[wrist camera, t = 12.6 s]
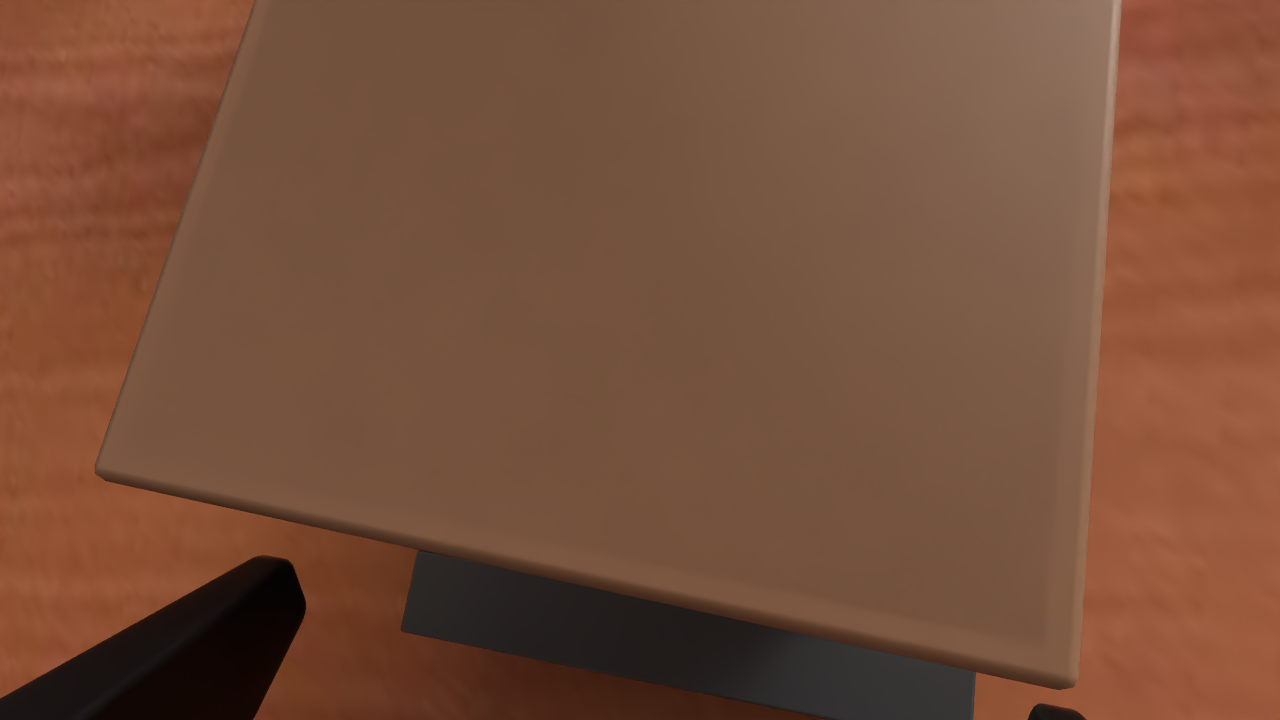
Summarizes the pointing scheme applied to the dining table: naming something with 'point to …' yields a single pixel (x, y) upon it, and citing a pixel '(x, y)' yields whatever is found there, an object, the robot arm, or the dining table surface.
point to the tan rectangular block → (660, 304)
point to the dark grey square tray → (675, 645)
